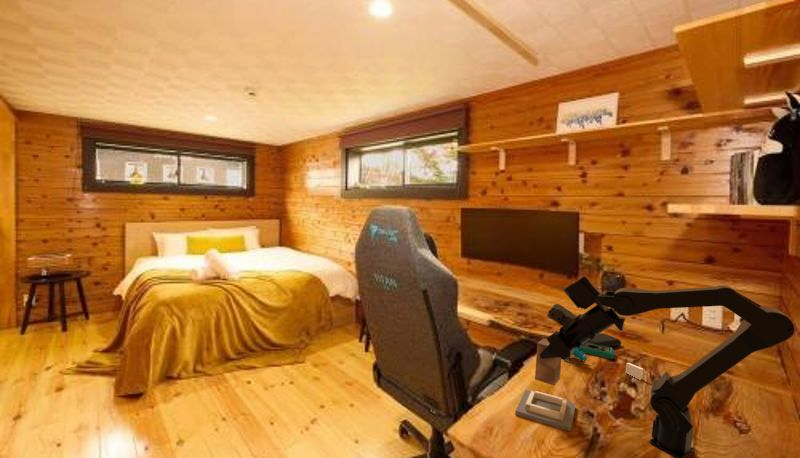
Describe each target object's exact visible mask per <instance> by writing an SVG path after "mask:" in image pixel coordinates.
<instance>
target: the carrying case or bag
mask: <svg viewBox="0 0 800 458" xmlns="http://www.w3.org/2000/svg"><path fill="white" fill-rule="evenodd" d="M586 342H587V343H591V344H596V345H601V346H606V347H611V348H613V347H614V348H615V347H620V346H621V345H622V341H621V339H619V338H618V337H617V338H616V337H614V336H612V335H609V334H606V333H604V332H601V333H599V334H598V335H596V336H595V337H594V338H593V339H590V340H588V341H586Z"/></svg>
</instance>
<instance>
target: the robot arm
mask: <svg viewBox="0 0 800 458" xmlns="http://www.w3.org/2000/svg"><path fill="white" fill-rule="evenodd" d="M563 293H565V295H566V296H567V297H568V299H570V301H571V302H572V303H573V304H574V306H575V307H576V308H577V309H581V310H582V309H583V310H586V309H588V308H590V307H591V306H593V305H594V304H596V305H594V306H593V307H591V308H590V309H588V310H587V311H585V312H584V313H582V314H581V313H580V314H578V315H575V314H574V313H573V312H572V311H570V310H568V309H567V308H566V307H565V306H562V305H561V304H559V303H555V304H554V305H552V307H551V309H549V310H548V312H547V315H546V316H547V318H549V319H551V320H553V321H554V322H556V323H558V325H561V327H560V328H559V331H558V330H556V331H554V332H553V333H552V334H550V335H549V336H547V337H546V339H547V341H548V342H549V343H550V344H549V345H548V346H547V347H546V348H545V349H544V350H543V351H542V353H541V354H540V355H539V356H540V357H541V358H542V359H543V358H556V357H561V360H563V361H564V360H565V359H567V358H568V357H570V358H571V356H572V354H573V353H574V348H576V347H577V348H578V347H580V346H581V345H582V344H583V343H585V342H586V341H588V340H590V339H593V338H594V337H595V336H596V335H598V334H600V333H604V332H605V330H607V329H609V328H611V327H612V326H615V327H616V328H617V329H618V330H619V331H621V332H622V331H623V330H624V328H625V321H626V317H628V316H633V315H639V314H644V313H647V312H651V311H654V310H659V309H663V310H664V309H682V308H703V307H724V308H725V309H727V310H729V311H731V312H732V313H734V314H735V315H737V316H738V317H740V318H741V319H742V320H741V322H740V324H739V325H738V327H737V328H736V330H735V331H734V333H733V334H732V335H731V336H730V337H728V338H727V339H725V340H724V341H723V342H721V343H720V344H719V345H717V346H716V347H715V348H713V349H712V350H711V351H709V352H708V353H707V354H705V355H704V356H703V357H701V358H700V359H698V360H697V361H696V362H694V363H693V364H692V365H690V366H689V367H688V368H686V369H685V370H684V371H682V372H681V373H679V374H676V375H673V376H671V375H670V374H669V372H668V371H665V372H664V373H663V374H662V375H661V376H660V377H659V378H658V379H655V380H652V385H651V388H650V399H649V401H650V402H649V403H650V406H651V408H652V410H653V411H654V412H655V413H657V414H656V415H655V419H654V420H652V426H651V437H652V438H651V439H649V444H651V445H653V446H655V447H657V448H659V449H660V450H662V451H664V452H666V453H668V454H670V455H672V456H674V457H676V458H686V457H688V456H689V455H691V454H692V453H693V452H695V448H694V447H693V446H692V443H693V433H694V425H693V421H692V412H691V408H690V407H689V404H690V403H691V401H692V400H693V398H694V397H695V395H696V394H697V393H698V392H699V391H700V390H702V389H703V388H705V387H706V386H708V385H709V384H710V383H712V382H713V381H715V380H716V379H718V378H719V377H721V376H722V375H723V374H725V373H726V372H727V371H729V370H730V369H731V368H733V367H734V366H736V365H737V364H739V363H740V362H742V361H743V360H744V359H746V358H747V357H749V356H750V355H752V353H755V352H758V351H763V350H766V349H769V348H772V347H775V346H778V345H779V344H781V343H784V342H786V341H788V340H790V339H791V337H793V336H794V334H795V325H794V323H793V321H792V320H791V319H790V318H789V317H788V316H786V314H784V313H783V312H782V311H781V310H779V309H776V308H775V307H771V306H763V305H760V304H759V303H757V302H755V301H754V300H752V299H750V298H749V297H747V296H745V295H743V294H742V293H740V292H737V291H736V290H735V289H734V288H732V287H731V286H730V285H726V284H725V285H723V284H721V285H717V286H710V287H709V286H705V287H693V288H681V289H680V288H678V289H663V290H651V289H649V290H648V289H643V288H633V287H632V288H631V287H622V288H621V287H620V288H618V289H616V291H613V290H611V291H610V290H609V291H608V290H601V291H600V290H599V289H598V288H597V287H596V285H595V284H593V282H592V281H591V279H590V277H588V276H587V275H584V276H583V277H580V279H578V280H576V281H574V282H573V283H572V284H570V285H568V286H567V287H566V288H565V289H563ZM625 316H626V317H625Z"/></svg>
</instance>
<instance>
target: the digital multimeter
mask: <svg viewBox="0 0 800 458" xmlns="http://www.w3.org/2000/svg"><path fill="white" fill-rule="evenodd" d="M578 348H579V351H580V352H581V351H582V352H583V353H584V354H585V355H591V356H595V357H599V358H604V359H608V360H613V359H614V358H615V350H614V349H613V347H606V346H601V345H596V344H591V343H587V342H585V343H583V344H582V345H581V346H580V347H578Z"/></svg>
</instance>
